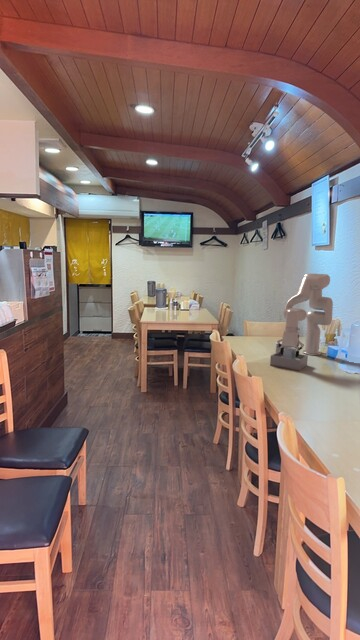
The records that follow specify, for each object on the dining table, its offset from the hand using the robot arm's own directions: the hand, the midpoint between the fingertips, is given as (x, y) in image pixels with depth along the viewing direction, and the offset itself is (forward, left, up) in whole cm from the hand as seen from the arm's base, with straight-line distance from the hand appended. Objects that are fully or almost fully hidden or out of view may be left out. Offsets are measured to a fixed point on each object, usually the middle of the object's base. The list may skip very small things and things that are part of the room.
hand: (289, 355), depth 240 cm
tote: (0, 0, -7) cm, 7 cm away
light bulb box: (-16, -10, -7) cm, 20 cm away
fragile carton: (0, 0, -3) cm, 3 cm away
